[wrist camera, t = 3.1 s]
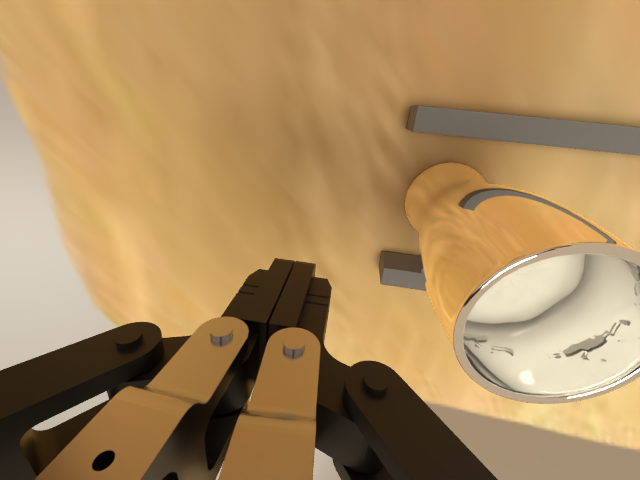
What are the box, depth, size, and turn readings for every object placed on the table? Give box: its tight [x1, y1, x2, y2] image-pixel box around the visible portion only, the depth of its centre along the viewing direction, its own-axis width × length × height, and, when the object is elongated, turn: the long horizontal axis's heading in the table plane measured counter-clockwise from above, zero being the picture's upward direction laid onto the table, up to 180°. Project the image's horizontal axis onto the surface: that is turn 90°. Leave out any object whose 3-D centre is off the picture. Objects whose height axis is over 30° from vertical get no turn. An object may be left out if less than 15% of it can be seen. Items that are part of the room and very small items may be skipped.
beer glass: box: [405, 162, 640, 404], centre depth 16 cm, size 7×7×15 cm
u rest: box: [379, 106, 640, 291], centre depth 21 cm, size 13×26×3 cm, turn 85°
